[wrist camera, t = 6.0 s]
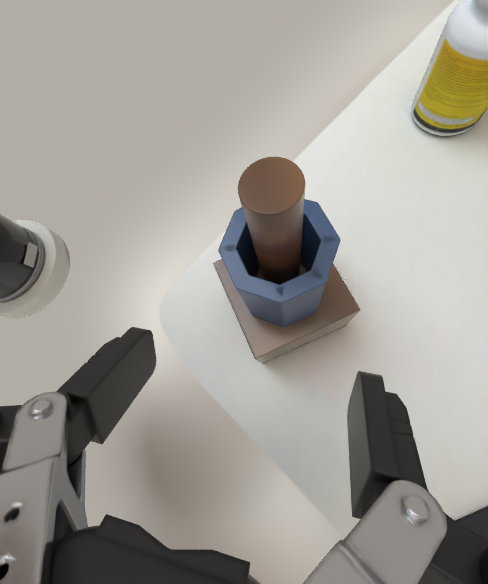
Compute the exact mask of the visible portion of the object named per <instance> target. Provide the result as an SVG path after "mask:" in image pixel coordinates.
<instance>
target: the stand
mask: <svg viewBox="0 0 488 584" xmlns="http://www.w3.org/2000/svg"><path fill="white" fill-rule="evenodd" d="M238 194H239V197H240V201H241V204H242V208H243V211H244V215H245V218H246V221H247V225H248V228H249V232H250V235H251V238H252V242H253V245H254V249H255V252H256V256H257V259H258V262H259V266H260V269H259V272H258V275H257V278H260V279H263V280H266V281H269V282H273V283H276V284H279V285H281V284H283V283H285V282H287V281H289V280H291V279H293V278H296V277H298V276H300V275H302V274H304V273H306V270H305V268H304V266H303V264H302V263H300V260H301V244H302V228H303V211H304V195H305V179H304V175H303V173H302V171H301V170H300V168H299V167H298V166H297V165H296V164H295V163H293V162H292V161H290V160H288V159H285V158H281V157H267V158H263V159H260V160H258V161H256V162H254V163H253V164H251V165H250V166H249V167H248V168H247V169H246V170H245V171H244V172H243V174H242V176H241V177H240V180H239V185H238ZM213 264H214V267H215V269H216V271H217V273H218V276H219V278H220V280H221V283H222V285H223V287H224V289H225V292H226V294H227V296H228V298H229V301H230V303H231V305H232V308H233V310H234V312H235V314H236V317H237V319H238V321H239V323H240V326H241V328H242V330H243V333H244V335H245V337H246V339H247V342H248V344H249V346H250V348H251V351H252V353H253V355H254V358H255V359H257V360H258V361H260V362H262V363H266V362H268V361H270V360H272V359H274V358H276V357H279V356H281V355H283V354H285V353H287V352H289V351H292V350H294V349H296V348H298V347H300V346H302V345H304V344H307V343H309V342H311V341H313V340H315V339H317V338H320V337H322V336H324V335H326V334H328V333H330V332H332V331H335V330H337V329H339V328H341V327H343V326H345V325H346V324H347V323H348V322H349V321H350V320H351V319H352V318H353V317H354V316H355V315H356V314H357V313H358V312H359V311H360V309H359V307H358V305H357V303H356V302H355V300H354V298H353V297H352V295H351V293H350V292H349V290H348V288H347V286H346V285H345V283H344V281H343V280H342V278H341V276H340V275H339V273H338V271H337V269H336V268H335V266H334V264H332V267H331V270H330V273H329V276H328V279H327V282H326V285H325V288H324V291H323V294H322V297H321V300H320V303H319V306H318V309H317V312H316V313H315V314H313V315H311V316H308V317H306V318H304V319H302V320H300V321H298V322H296V323H293V324H291V325H289V326H287V327H282V326H279V325H276V324H273V323H271V322H268V321H265V320H262V319H259V318H256V317H254V316H253V315H252V314H251V312H250V311H249V309H248V307H247V306H246V304H245V303H244V301H243V299H242V298H241V296H240V294H239V293H238V291H237V290H236V288H235V286H234V284H233V282H232V279H231V277H230V275H229V273H228V271H227V268H226V266H225V264H224V262H223V259H221V260H219V261H217V262H215V263H213Z"/></svg>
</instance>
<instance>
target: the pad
mask: <svg viewBox="0 0 488 584" xmlns="http://www.w3.org/2000/svg"><path fill="white" fill-rule="evenodd" d="M456 522H457V523H459V524H460V525H462V526H464V527H465V528H467V529H469V530H471V531H472V532H474V533H476V534H478V535H479V536H481V537H483V538H485V539H486V540H488V507H485V508H483V509H481V510H479V511H476V512H474V513H472V514H470V515H467V516H465V517H463V518H461V519H459V520H456Z"/></svg>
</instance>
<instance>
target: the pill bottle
mask: <svg viewBox="0 0 488 584" xmlns="http://www.w3.org/2000/svg"><path fill="white" fill-rule="evenodd" d="M487 108H488V0H462V1H461V2H460V3H459V4H458V5H457V6H456V7H455V8H454V9H453V11H452V12H451V14H450V16H449V18H448V20H447V22H446V24H445V27H444V29H443V31H442V34H441V36H440V39H439V41H438V43H437V46H436V48H435V51H434V53H433V55H432V58H431V60H430V63H429V65H428V67H427V70H426V72H425V75H424V77H423V79H422V82H421V84H420V86H419V89H418V91H417V93H416V95H415V98H414V100H413V104H412V115H413V118H414V120H415V122H416V123H417V124H418V126H419V127H421V128H422V129H423V130H425V131H427V132H429V133H432V134H435V135H441V136H450V135H456V134H460V133H463V132H465V131H467V130H468V129H470V128H471V127H473V126H474V125H475V124H476V123H477V122H478V121H479V120H480V118H481V117H482V116H483V114H484V113H485V111H486V110H487Z"/></svg>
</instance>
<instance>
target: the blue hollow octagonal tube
mask: <svg viewBox="0 0 488 584" xmlns="http://www.w3.org/2000/svg"><path fill="white" fill-rule="evenodd" d="M339 243H340V238H339V236H338V234H337V233H336V231H335V230H334V228H333V226H332V225H331V223H330V222H329V220H328V218H327V217H326V215H325V213H324V212H323V210H322V209H321V207H320V205H319V204H318V203H317V202H314V201H310V200H306V199H304V211H303V228H302V244H301V260H300V263H302V264H303V266H304V268H305V270H306V273H304V274H302V275H300V276H298V277H296V278H293V279H291V280H289V281H287V282H285V283H283V284H281V285H279V284H276V283H273V282H269V281H266V280H263V279H260V278H257V275H258V272H259V269H260V266H259V262H258V259H257V256H256V252H255V249H254V245H253V242H252V238H251V235H250V232H249V228H248V225H247V221H246V218H245V215H244V211H243V208H240V209H238V210H236V211H235V212H234V214H233V216H232V218H231V221H230V223H229V226H228V228H227V230H226V233H225V235H224V237H223V240H222V242H221V244H220V247H219V253H220V255H221V257H222V259H223V262H224V264H225V266H226V268H227V271H228V273H229V275H230V277H231V279H232V282H233V284H234V286H235V288H236V290H237V291H238V293H239V294H240V296H241V298H242V299H243V301H244V303H245V304H246V306H247V307H248V309H249V311H250V312H251V314H252V315H253V316H254V317H256V318H259V319H262V320H265V321H268V322H271V323H273V324H276V325H279V326H282V327H287V326H289V325H291V324H293V323H296V322H298V321H300V320H302V319H304V318H306V317H308V316H311V315H313V314H315V313H316V312H317V309H318V306H319V303H320V300H321V297H322V294H323V291H324V288H325V285H326V282H327V279H328V276H329V273H330V270H331V267H332V264H333V261H334V258H335V255H336V252H337V249H338V246H339Z"/></svg>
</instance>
